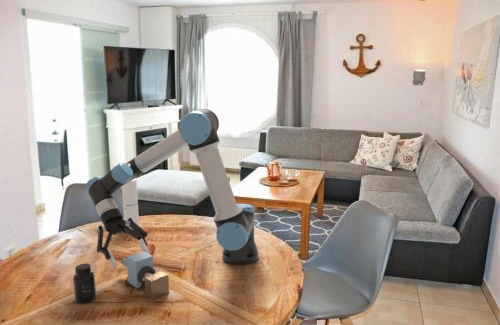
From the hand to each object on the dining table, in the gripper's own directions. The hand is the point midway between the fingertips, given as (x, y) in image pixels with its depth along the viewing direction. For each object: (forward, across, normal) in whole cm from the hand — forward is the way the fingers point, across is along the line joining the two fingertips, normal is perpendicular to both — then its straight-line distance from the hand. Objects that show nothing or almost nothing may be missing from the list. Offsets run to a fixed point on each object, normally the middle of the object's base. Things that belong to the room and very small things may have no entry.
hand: (131, 260), depth 156 cm
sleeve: (+9, 0, -1) cm, 9 cm away
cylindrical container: (-31, -30, -42) cm, 60 cm away
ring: (+11, 0, +2) cm, 11 cm away
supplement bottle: (+6, +18, -5) cm, 20 cm away
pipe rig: (+9, 0, -2) cm, 10 cm away
